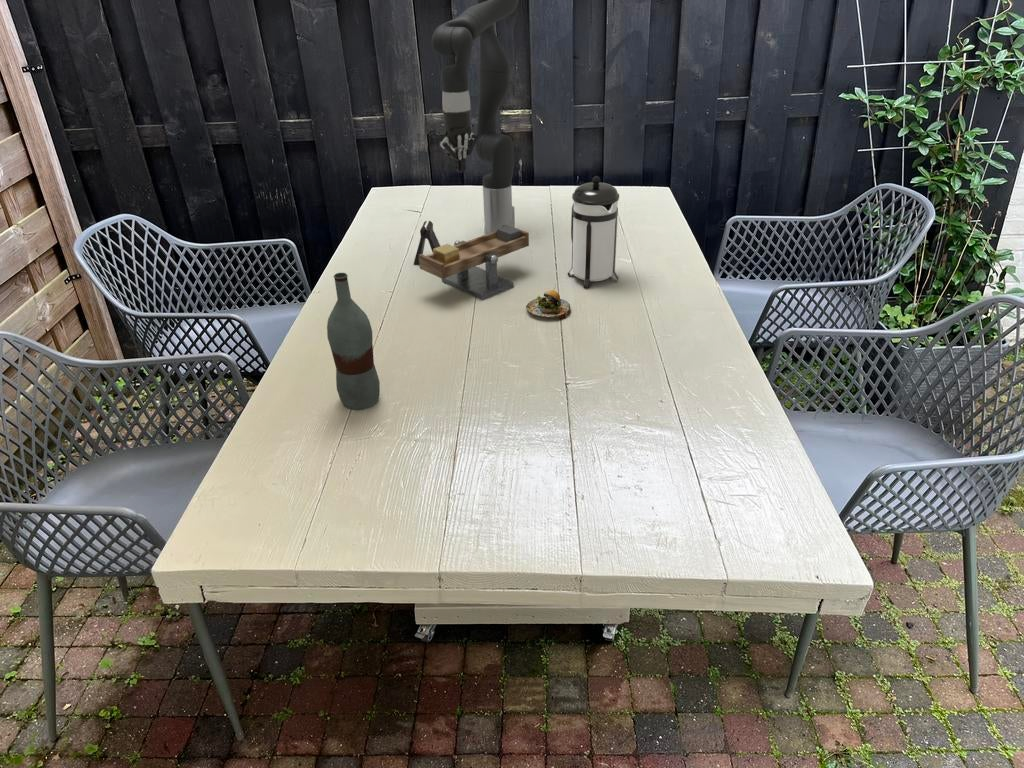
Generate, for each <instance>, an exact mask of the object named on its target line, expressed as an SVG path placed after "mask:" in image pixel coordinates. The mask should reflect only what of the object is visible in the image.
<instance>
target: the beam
mask: <svg viewBox="0 0 1024 768" xmlns="http://www.w3.org/2000/svg"><path fill="white" fill-rule="evenodd" d="M504 226H508V225H506V224H505V225H503V227H504ZM510 227H511V226H510ZM513 228H514V227H513ZM515 229H518V230H521V237H520V238H517V239H515V240H512V241H509V242H504V241H502V240H499V239H497V231H494V232H492V233H489V234H486V235H485V234H484V235H481V236H477V237H475V238H472V239H469V240H467V241H465V242H464V243H461V244H458V245H455V246H454V245H453V246H454V247H456V248H459V258H460V260H458V261H455V262H453V263H450V264H447V265H445V266H444V264H443V263H441V262H439V261H436V260H434V255H433V253H430V254H428V255H425V254H424V253H423V254H420V255H419V264H420V265H419V269H420V270H422V271H424V272H426V273H429V274H431V275H434V276H436V277H438V278H439V279H441V280H442V279H444V278H446V277H449V276H451V275H454V274H457V273H459V272H462V271H465V270H467V269H470V268H472V267H475V266H476V267H478V266H479V265H482V264H485V255H487V254H490V253H496V254H497V257H498V258H501V257H504V256H505V255H508V254H511V253H514V252H516V251H519V250H521V249H524V248H527V247H529V246H530V242H529V241H530V240H529V239H530V237H529V235H530V234H529V232H527V231H525V230H522V229H520V228H516V227H515Z"/></svg>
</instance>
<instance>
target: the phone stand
mask: <svg viewBox="0 0 1024 768" xmlns="http://www.w3.org/2000/svg"><path fill="white" fill-rule="evenodd" d="M425 226H426V227H425ZM419 233H420V239H419V242H418V245H417V250H416V254H415V256H414V261H413V265H414V266H420V264H419V255H420V254H423V255H424V250H425V246H426V245H425V243H426V239H427V241H428V244H429V246H430V250H431V251H432V253H433V249H434V248H437V247H440V246H441V243H440V242H439V240H438V238H437V235H436V233H435V230H434V223H433V222H432V221H431V220H429V221H428V222H427V220H425V221H424V222H423V224H422V226H421V228H420V230H419Z"/></svg>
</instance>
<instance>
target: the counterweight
mask: <svg viewBox="0 0 1024 768" xmlns="http://www.w3.org/2000/svg"><path fill="white" fill-rule="evenodd" d="M515 228H516V227H515ZM515 228H513V227H510V226H504V227H501V228H498V229H497V239H499V240H502V241H504V242H509V241H512V240H515V239H517V238H520V237H521V230H522V229H520V230H518V229H519V228H517V229H515Z"/></svg>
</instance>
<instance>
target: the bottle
mask: <svg viewBox="0 0 1024 768" xmlns="http://www.w3.org/2000/svg"><path fill="white" fill-rule="evenodd" d="M333 279H334V283H335V291H336V297H337V300H336V301H335V303H334V304H335V305H334V306H333V308H332V309H331V311H330V314H329V316H328V319H327V325H326V330H327V331H326V335H327V341H328V344H329V347H330V350H331V355H332V358H333V362H334V364H335V374H336V375H335V381H336V382H335V383H336V391H337V394H338V396H339V399H340V402H341V403H342V405H343V407H345V408H346V409H348V410H351V411H363V410H368V409H370V408H372V407H374V406H375V405H377V404H378V402H379V400H380V396H381V394H380V392H381V391H380V389H381V388H380V386H381V385H380V384H381V383H380V379H379V375H378V371H377V368H376V366H375V361H374V360H375V359H374V358H375V357H374V343H373V330H372V325H371V322H370V320H369V318H368V315H367V314H366V312H365V311H364V310H363V309H362V308H361V307H360V306H359V305H358V304H357V303H356V301H354V300H353V298H352V297H351V290H350V285H349V279H348V274H347V273H346V272H337V273H334V275H333Z"/></svg>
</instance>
